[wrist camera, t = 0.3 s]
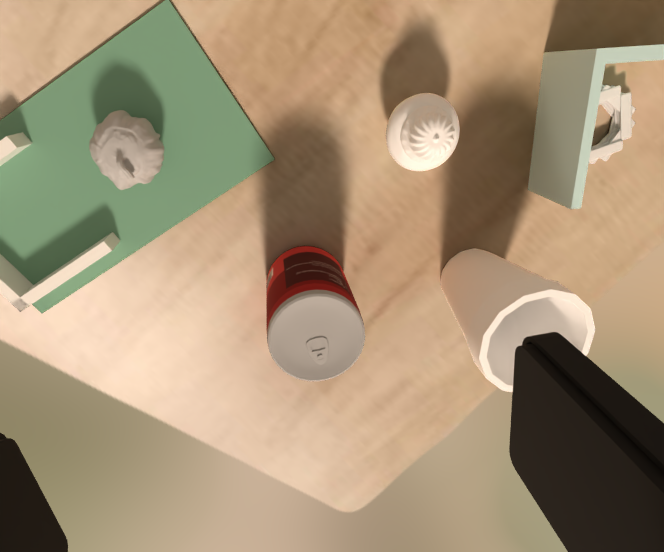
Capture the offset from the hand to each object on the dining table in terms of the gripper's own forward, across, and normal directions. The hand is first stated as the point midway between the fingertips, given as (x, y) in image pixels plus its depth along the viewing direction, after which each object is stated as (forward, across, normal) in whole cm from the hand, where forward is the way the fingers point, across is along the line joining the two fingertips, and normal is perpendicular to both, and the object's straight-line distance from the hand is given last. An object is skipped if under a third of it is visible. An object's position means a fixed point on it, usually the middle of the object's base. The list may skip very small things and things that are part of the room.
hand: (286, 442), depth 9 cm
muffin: (+34, -13, -1) cm, 37 cm away
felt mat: (+34, +14, -1) cm, 37 cm away
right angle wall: (+35, -30, +1) cm, 46 cm away
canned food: (+35, -2, +12) cm, 37 cm away
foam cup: (+35, -18, +15) cm, 42 cm away
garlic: (+34, +11, -2) cm, 36 cm away
